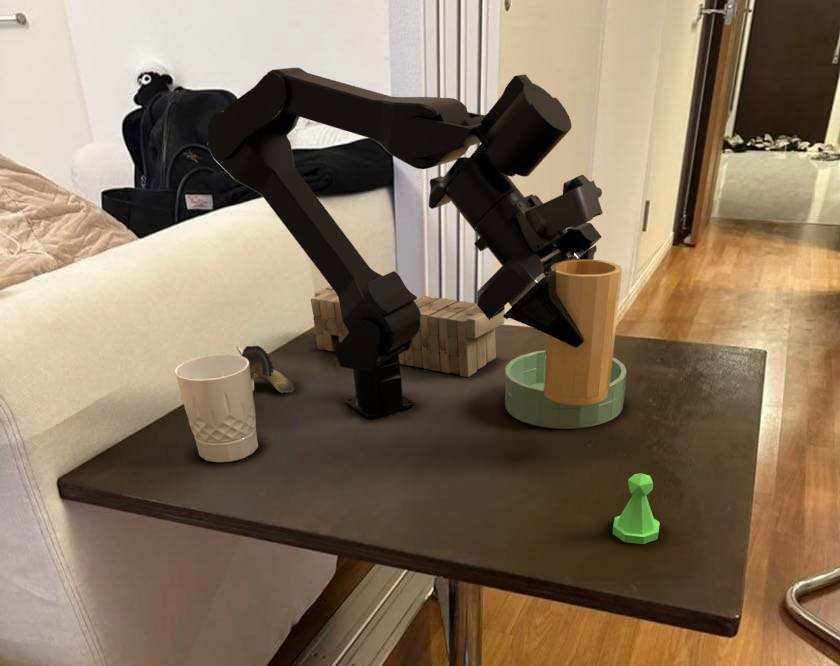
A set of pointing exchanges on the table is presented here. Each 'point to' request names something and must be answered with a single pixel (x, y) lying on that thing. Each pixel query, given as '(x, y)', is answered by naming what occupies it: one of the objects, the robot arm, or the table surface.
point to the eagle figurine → (265, 369)
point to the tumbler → (584, 332)
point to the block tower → (424, 333)
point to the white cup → (219, 405)
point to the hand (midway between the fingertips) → (593, 333)
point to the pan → (539, 410)
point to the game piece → (637, 514)
